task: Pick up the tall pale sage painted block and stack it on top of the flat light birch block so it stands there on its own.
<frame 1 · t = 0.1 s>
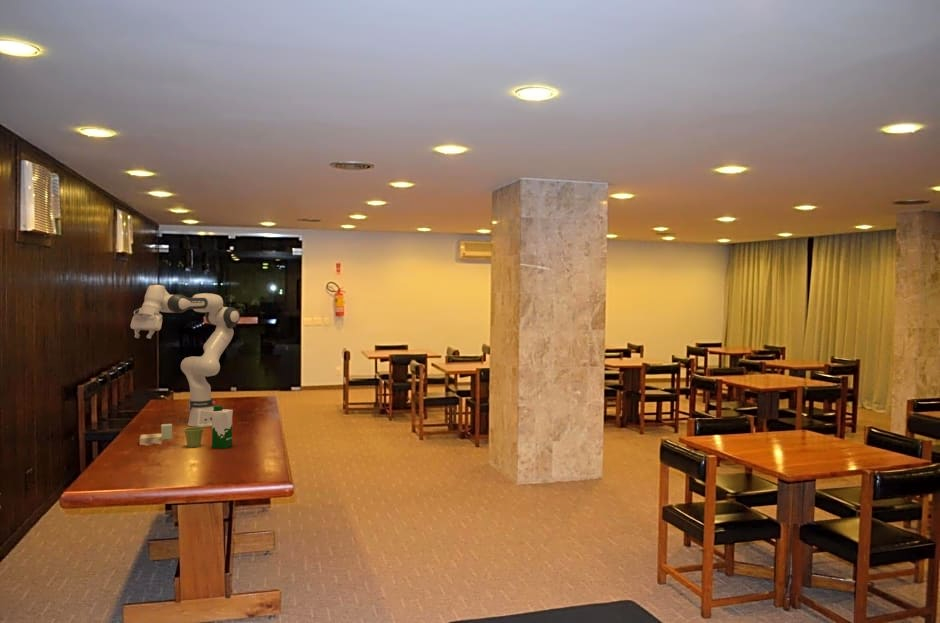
hand: (142, 338, 373), 52 cm above the table, tool tilted 20°, fingers open, 8 cm apart
birch block: (151, 443, 358), on the table
milk carton: (222, 447, 349), on the table
plant pot: (193, 446, 350), on the table
sage block: (166, 438, 370), on the table
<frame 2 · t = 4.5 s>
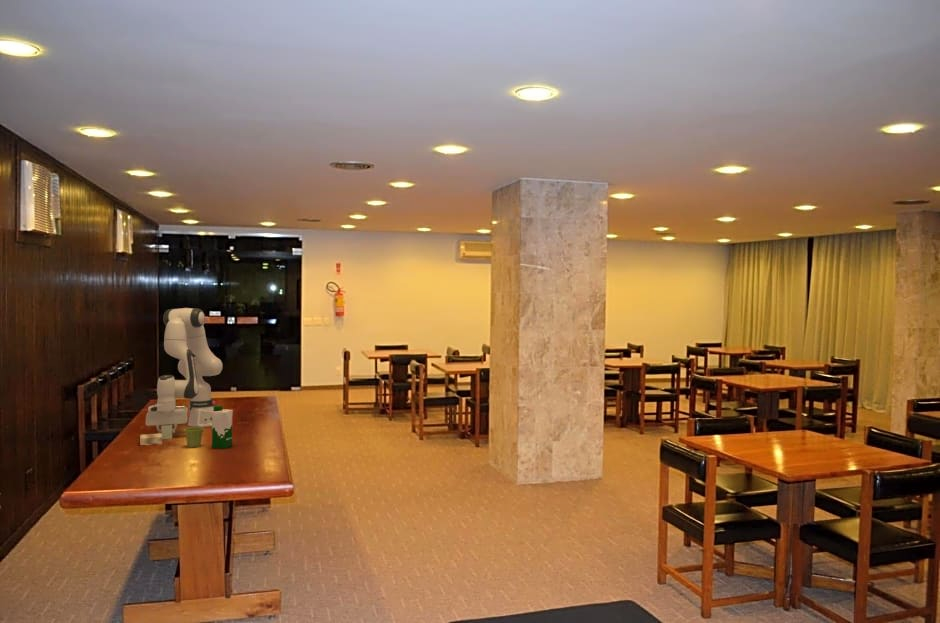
hand: (166, 433, 370), 3 cm above the table, tool pointing down, fingers closed on sage block, 5 cm apart
sage block: (166, 438, 370), on the table, touching gripper
everything else where it was.
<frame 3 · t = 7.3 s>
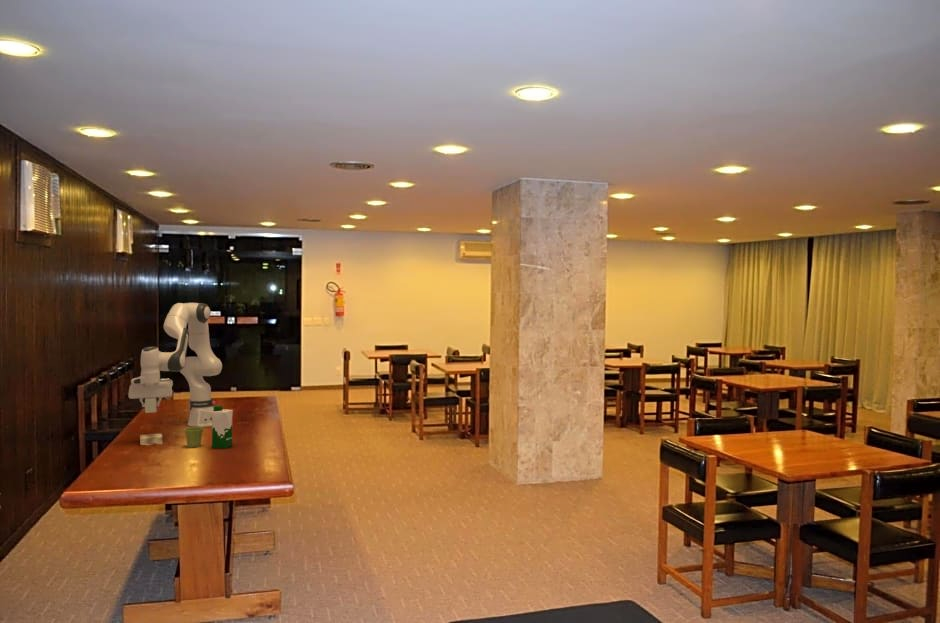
hand: (150, 406, 357), 18 cm above the table, tool pointing down, fingers closed on sage block, 5 cm apart
sage block: (150, 411, 357), point 16 cm above the table, touching gripper
everything else where it was.
when the fingers open (7 cm above the table, at t = 10.5 s): sage block drops 1 cm, resting on birch block.
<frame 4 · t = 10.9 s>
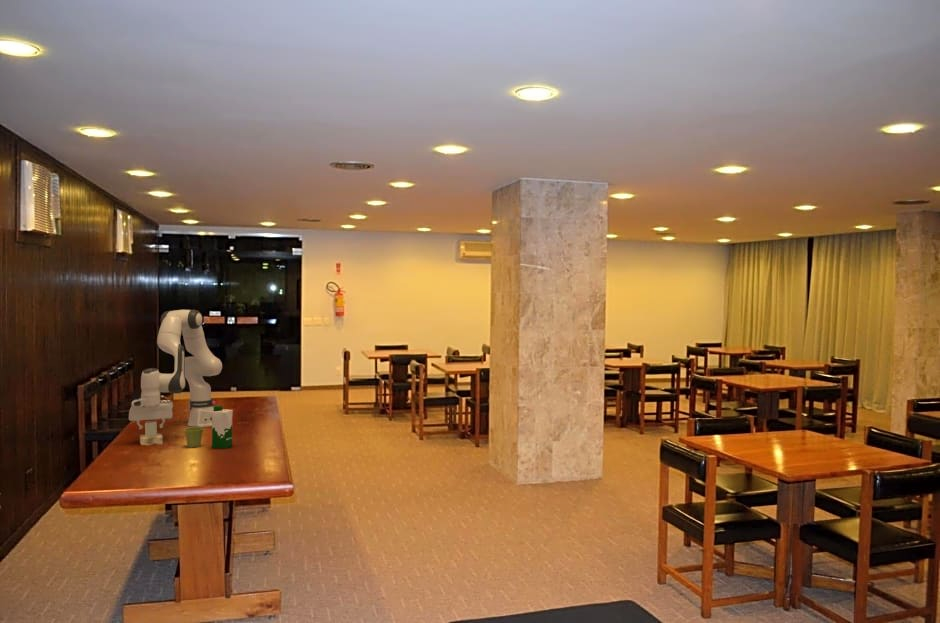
hand: (151, 428, 358), 7 cm above the table, tool pointing down, fingers open, 8 cm apart
birch block: (151, 443, 358), on the table, touching sage block
sage block: (151, 435, 358), point 4 cm above the table, touching birch block
everything else where it was.
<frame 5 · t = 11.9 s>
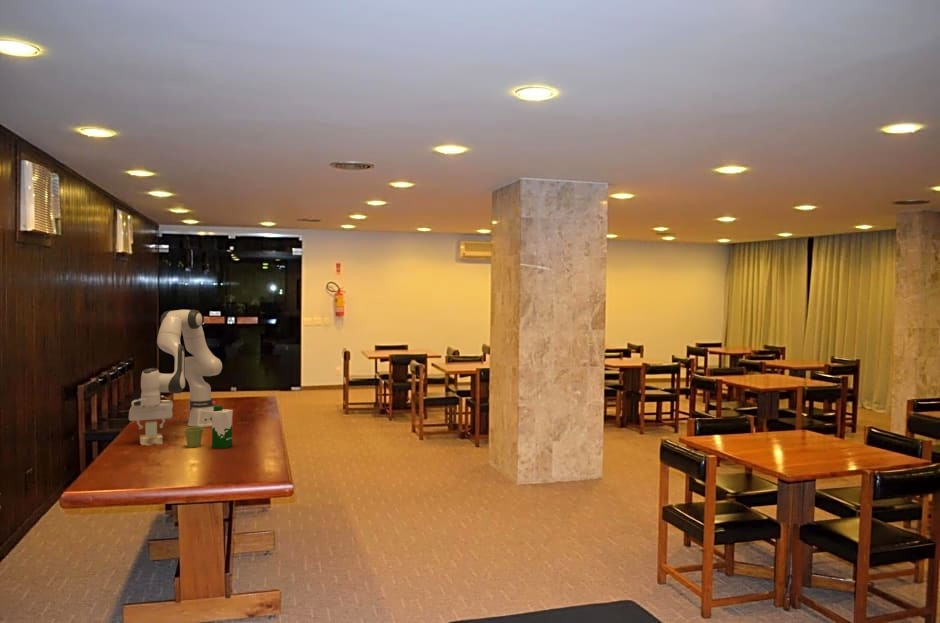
hand: (151, 428, 358), 7 cm above the table, tool pointing down, fingers open, 8 cm apart
nothing on the table moved.
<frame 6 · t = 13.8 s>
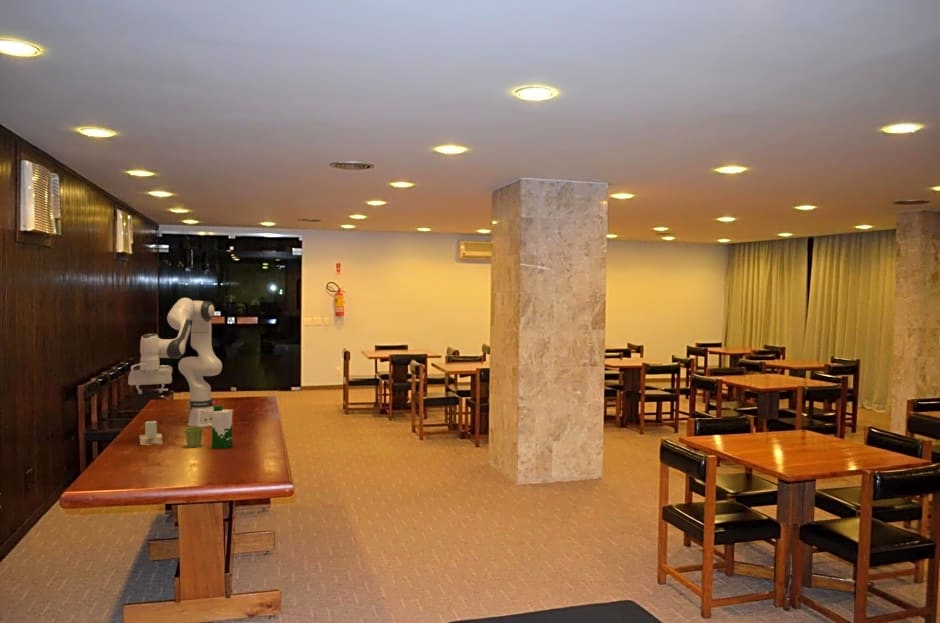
hand: (150, 393, 358), 25 cm above the table, tool pointing down, fingers open, 8 cm apart
birch block: (151, 443, 358), on the table
sage block: (151, 435, 358), point 4 cm above the table
everything else where it was.
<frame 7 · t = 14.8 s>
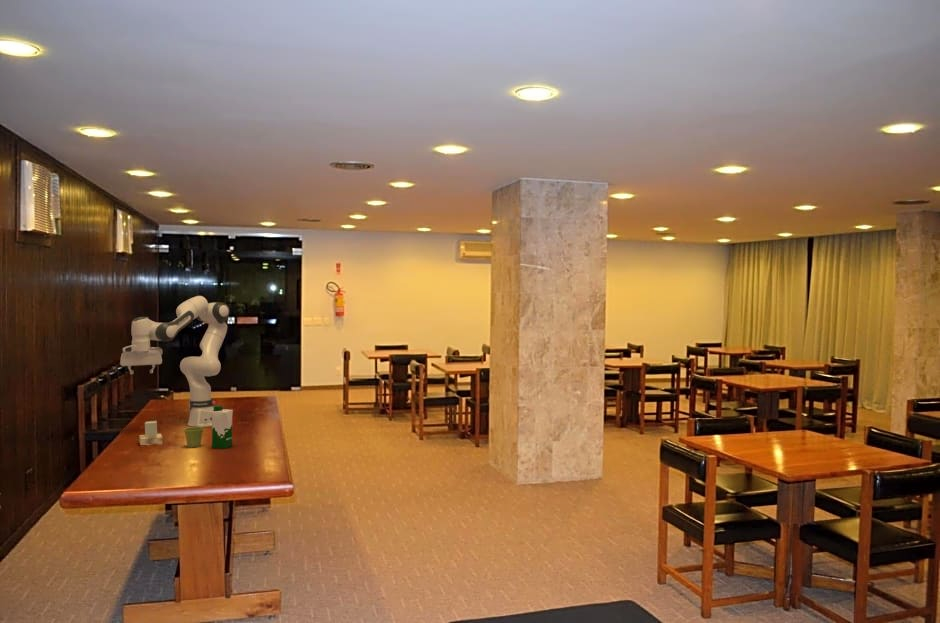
hand: (141, 373, 377), 33 cm above the table, tool pointing down, fingers open, 8 cm apart
birch block: (150, 444, 358), on the table, touching sage block
sage block: (151, 436, 357), point 4 cm above the table, touching birch block
everything else where it was.
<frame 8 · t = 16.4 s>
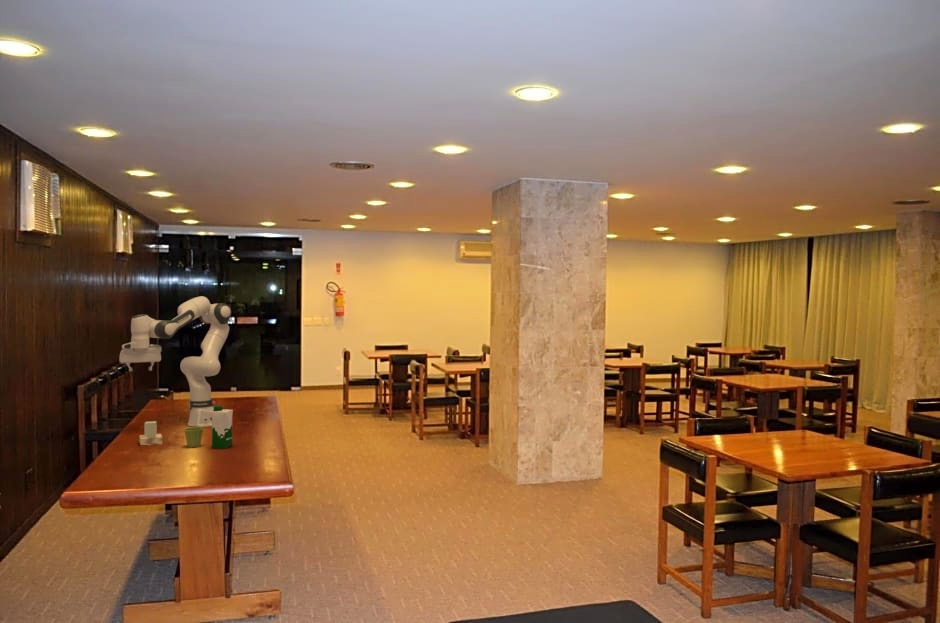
hand: (140, 370, 379), 34 cm above the table, tool pointing down, fingers open, 8 cm apart
nothing on the table moved.
at the end: sage block inside the target area on the birch block (0.2 cm from its centre), point 4.0 cm above the birch block's base; sage block tilted 0°; the gripper is holding nothing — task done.
